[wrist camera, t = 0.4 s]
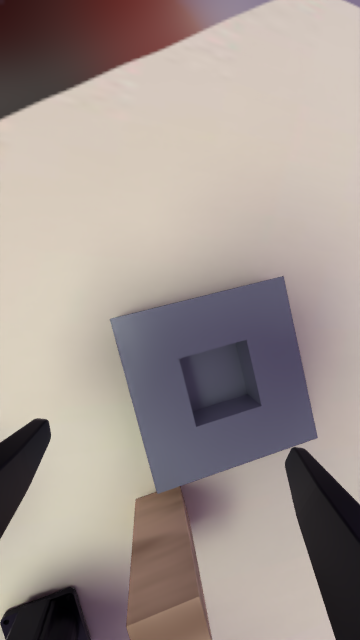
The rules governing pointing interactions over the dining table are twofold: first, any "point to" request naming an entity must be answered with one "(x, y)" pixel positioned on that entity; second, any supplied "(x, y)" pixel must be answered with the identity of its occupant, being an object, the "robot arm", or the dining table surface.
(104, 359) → the dining table surface
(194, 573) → the oak peg
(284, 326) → the socket block
